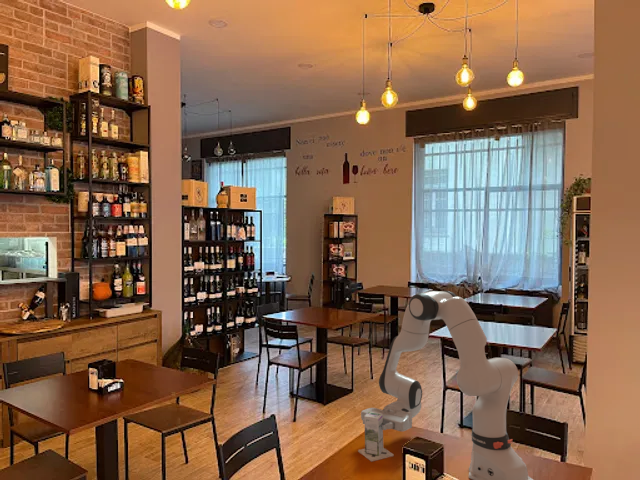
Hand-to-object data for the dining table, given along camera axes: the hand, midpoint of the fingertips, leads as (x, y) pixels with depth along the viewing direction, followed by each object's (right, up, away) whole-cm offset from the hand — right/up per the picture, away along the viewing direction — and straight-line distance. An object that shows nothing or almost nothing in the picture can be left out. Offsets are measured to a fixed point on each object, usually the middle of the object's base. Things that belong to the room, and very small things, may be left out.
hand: (373, 424), depth 188 cm
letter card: (+1, -11, +1) cm, 11 cm away
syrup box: (+1, -11, 0) cm, 11 cm away
